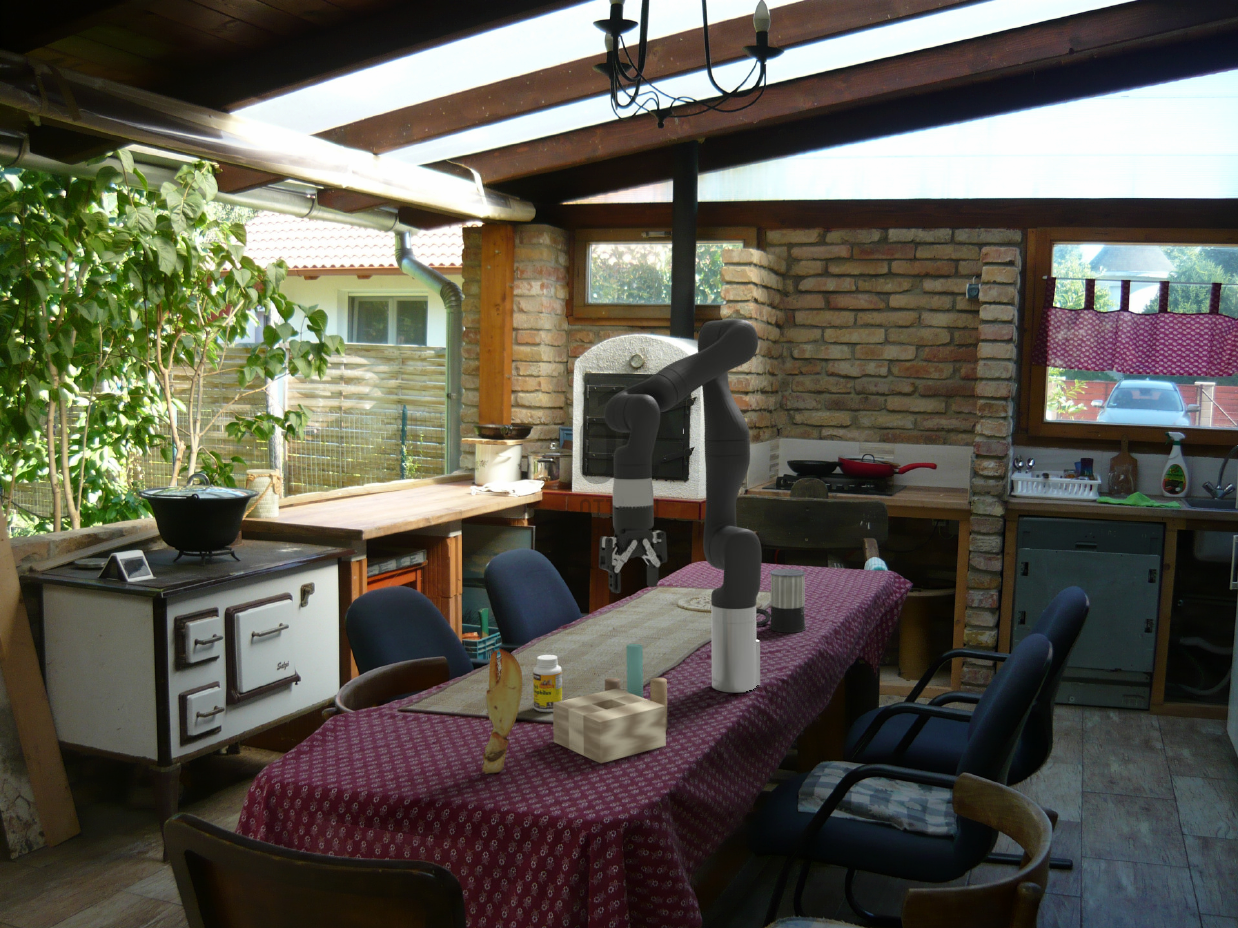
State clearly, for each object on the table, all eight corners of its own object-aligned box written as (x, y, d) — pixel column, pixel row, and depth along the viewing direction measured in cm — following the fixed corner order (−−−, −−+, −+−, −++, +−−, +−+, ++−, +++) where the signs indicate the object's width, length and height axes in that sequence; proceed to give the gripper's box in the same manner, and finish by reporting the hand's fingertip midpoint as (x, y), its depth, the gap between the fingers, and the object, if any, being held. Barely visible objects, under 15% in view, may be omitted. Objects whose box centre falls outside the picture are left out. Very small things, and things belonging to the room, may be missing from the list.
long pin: (636, 715, 203) (635, 642, 202) (646, 719, 201) (645, 645, 200) (624, 718, 201) (623, 645, 200) (633, 722, 199) (633, 648, 198)
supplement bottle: (528, 710, 207) (527, 658, 207) (544, 703, 212) (543, 652, 212) (552, 714, 205) (551, 661, 204) (567, 706, 210) (567, 655, 209)
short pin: (614, 707, 209) (614, 677, 208) (623, 710, 206) (623, 680, 206) (602, 710, 207) (601, 679, 207) (611, 713, 205) (611, 683, 204)
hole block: (617, 725, 197) (616, 688, 197) (665, 745, 186) (665, 705, 186) (553, 741, 189) (553, 702, 188) (600, 763, 178) (600, 721, 177)
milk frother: (808, 633, 269) (808, 574, 268) (745, 633, 270) (745, 575, 269) (800, 621, 283) (800, 565, 282) (740, 621, 284) (740, 565, 283)
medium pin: (660, 724, 198) (659, 676, 197) (670, 728, 195) (670, 680, 195) (647, 728, 196) (646, 679, 195) (657, 732, 194) (657, 683, 193)
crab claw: (527, 771, 175) (525, 650, 173) (507, 780, 170) (504, 656, 169) (494, 763, 178) (491, 644, 177) (473, 772, 174) (471, 651, 173)
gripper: (650, 498, 206) (651, 582, 207) (589, 503, 197) (591, 591, 198) (675, 501, 200) (676, 587, 201) (614, 507, 191) (615, 597, 192)
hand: (633, 589), depth 199 cm, fingers open, 8 cm apart
